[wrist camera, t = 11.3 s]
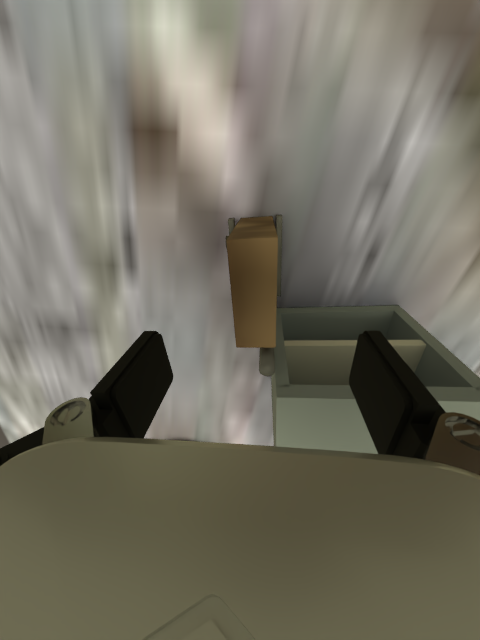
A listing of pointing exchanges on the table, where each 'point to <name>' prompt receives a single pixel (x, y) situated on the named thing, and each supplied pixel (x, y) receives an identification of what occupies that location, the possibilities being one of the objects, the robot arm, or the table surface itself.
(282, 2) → the table surface
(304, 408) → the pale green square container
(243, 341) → the tan rectangular block
